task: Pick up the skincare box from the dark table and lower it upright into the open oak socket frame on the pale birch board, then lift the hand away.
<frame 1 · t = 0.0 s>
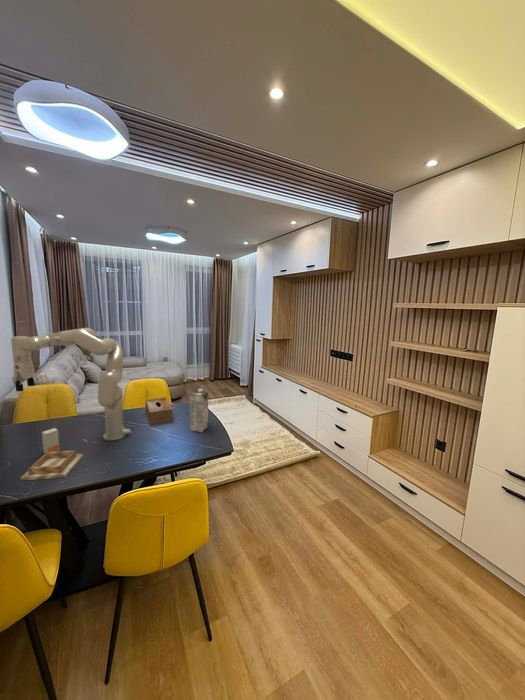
hand: (25, 388, 155), 31 cm above the table, fingers open, 9 cm apart
grey faceted bottle: (198, 429, 181), on the table
skincare box: (51, 451, 149), on the table
socket stand: (54, 467, 135), on the table
tissue box cover: (158, 417, 198), on the table
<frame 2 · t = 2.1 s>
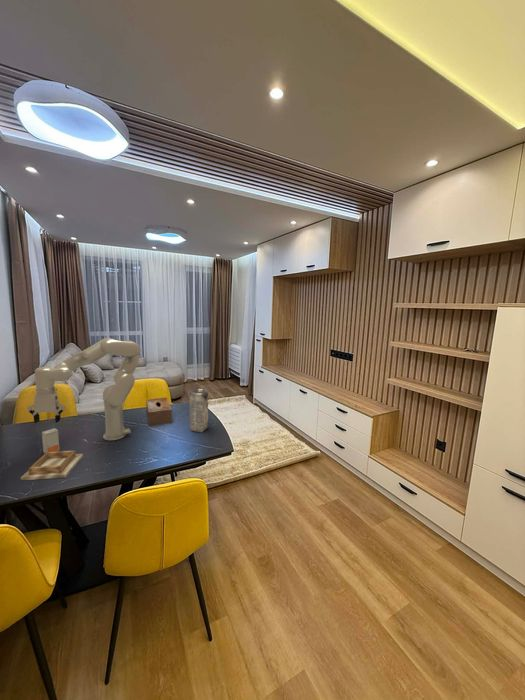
hand: (47, 421, 145), 17 cm above the table, fingers open, 9 cm apart
nothing on the table moved.
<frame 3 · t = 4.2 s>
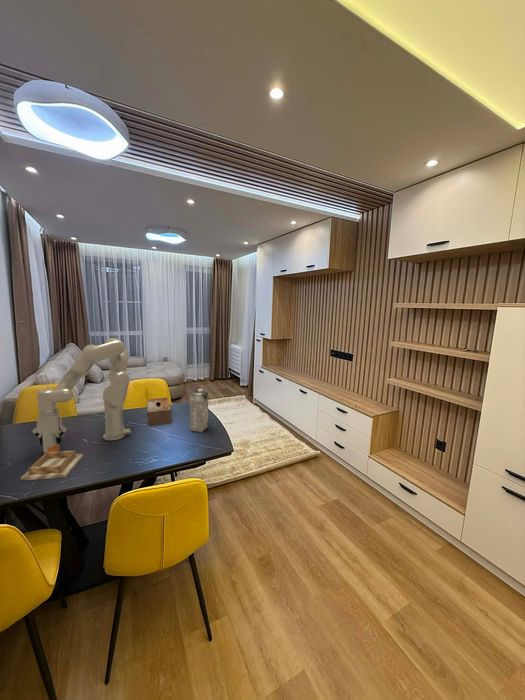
hand: (50, 443, 148), 5 cm above the table, fingers closed on skincare box, 7 cm apart
skincare box: (51, 451, 149), on the table, touching gripper
everything else where it was.
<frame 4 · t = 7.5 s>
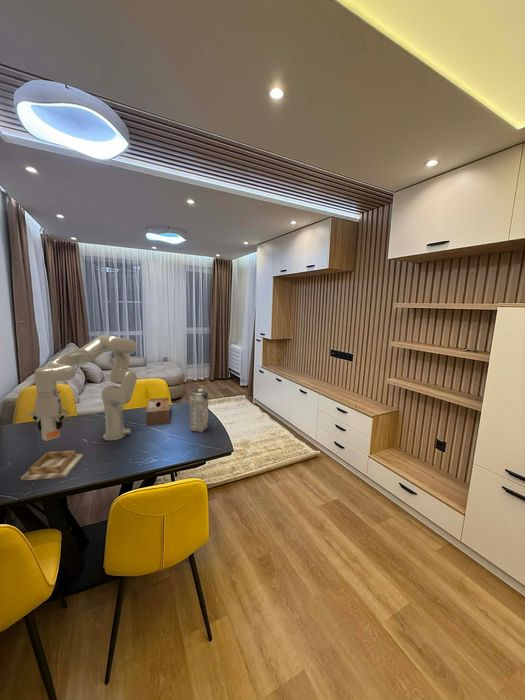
hand: (50, 428, 133), 20 cm above the table, fingers closed on skincare box, 7 cm apart
skincare box: (51, 438, 134), point 15 cm above the table, touching gripper
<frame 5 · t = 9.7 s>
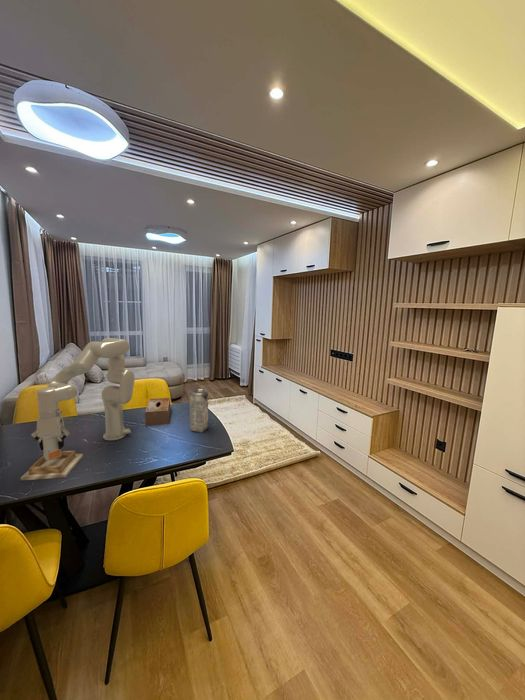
hand: (52, 448, 133), 10 cm above the table, fingers closed on skincare box, 7 cm apart
skincare box: (53, 457, 134), point 5 cm above the table, touching gripper
when the fingers open (7 cm above the table, at t = 11.3 s): skincare box stays where it is, resting on socket stand.
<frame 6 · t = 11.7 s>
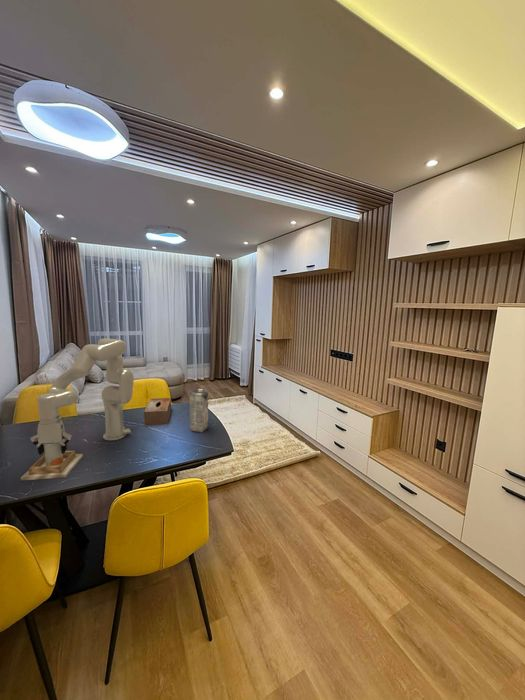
hand: (52, 452, 134), 8 cm above the table, fingers open, 9 cm apart
skincare box: (55, 464, 135), point 1 cm above the table, touching socket stand
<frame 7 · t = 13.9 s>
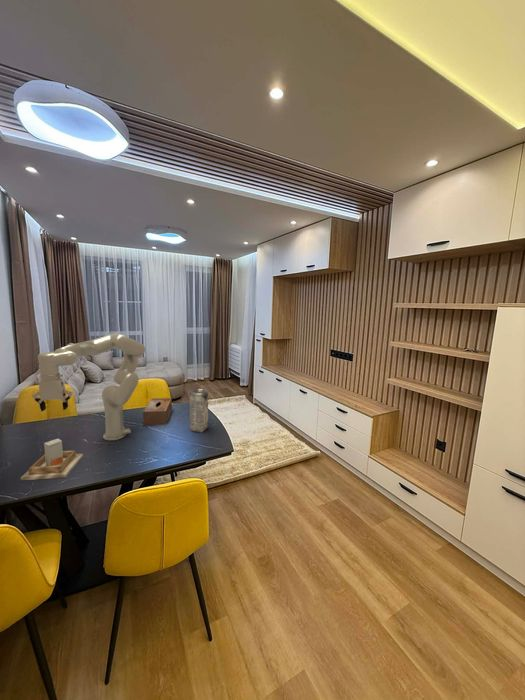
hand: (54, 409, 140), 26 cm above the table, fingers open, 9 cm apart
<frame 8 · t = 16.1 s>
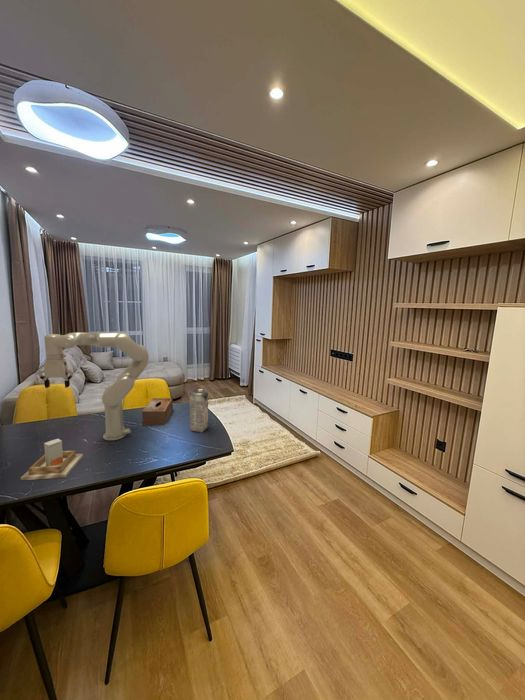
hand: (57, 387, 152), 33 cm above the table, fingers open, 9 cm apart
at the end: skincare box inside the target area on the socket stand (0.4 cm from its centre), point 1.3 cm above the socket stand's base; skincare box tilted 0°; the gripper is holding nothing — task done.
